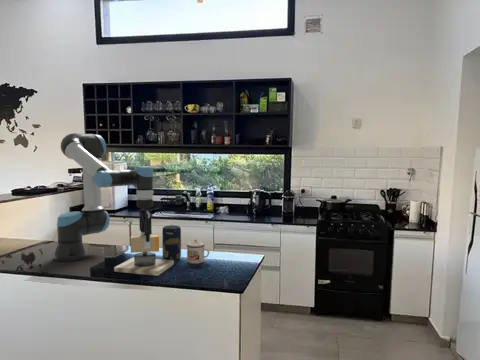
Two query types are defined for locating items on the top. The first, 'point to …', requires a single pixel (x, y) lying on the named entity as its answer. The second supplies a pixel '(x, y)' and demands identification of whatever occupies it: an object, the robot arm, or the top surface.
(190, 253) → the teacup with lid
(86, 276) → the top surface
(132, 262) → the base plate
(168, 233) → the canister
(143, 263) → the yellow block on stand
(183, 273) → the top surface
